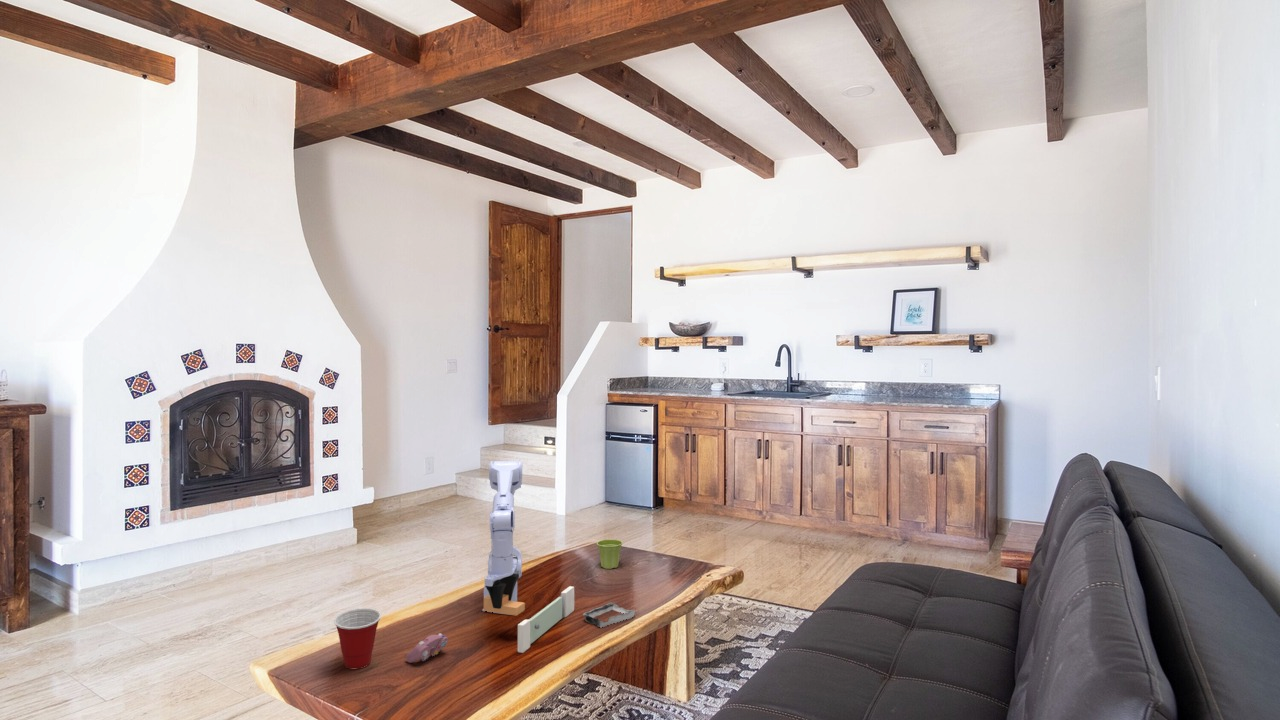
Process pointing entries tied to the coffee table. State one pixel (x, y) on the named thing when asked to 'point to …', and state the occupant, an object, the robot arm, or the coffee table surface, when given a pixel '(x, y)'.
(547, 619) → the door
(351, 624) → the plastic cup
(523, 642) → the door frame
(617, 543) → the plant pot
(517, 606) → the stepped wooden block
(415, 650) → the pink elongated piece
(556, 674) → the coffee table surface
